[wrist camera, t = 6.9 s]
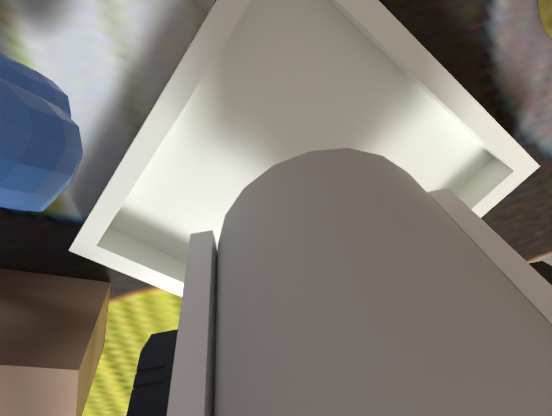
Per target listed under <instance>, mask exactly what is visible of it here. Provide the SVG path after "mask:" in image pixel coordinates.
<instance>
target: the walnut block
mask: <svg viewBox="0 0 552 416" xmlns="http://www.w3.org/2000/svg"><path fill="white" fill-rule="evenodd" d="M110 285H111V283H110V282H103V281H95V280H87V279H79V278H72V277H64V276H56V275H48V274H41V273H33V272H25V271H17V270H10V269H2V268H0V416H82V413H83V410H84V407H85V404H86V400H87V397H88V394H89V391H90V388H91V385H92V382H93V379H94V375H95V372H96V369H97V366H98V363H99V360H100V357H101V354H102V351H103V347H104V340H105V331H106V322H107V313H108V304H109V294H110Z"/></svg>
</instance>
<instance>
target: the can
mask: <svg viewBox="0 0 552 416" xmlns="http://www.w3.org/2000/svg"><path fill="white" fill-rule="evenodd" d="M214 416H552V326H551V325H550V324H549V322H548V321H547V320H546V319H545V318H544V317H543V316H542V315H541V314H540V313H539V312H538V311H537V310H536V309H535V308H534V306H533V305H532V304H531V303H530V302H529V301H528V300H527V299H526V298H525V297H524V296H523V295H522V294H521V293H520V291H519V290H518V289H517V288H516V287H515V286H514V285H513V284H512V283H511V282H510V281H509V280H508V279H507V278H506V276H505V275H504V274H503V273H502V272H501V271H500V270H499V269H498V268H497V267H496V266H495V265H494V264H493V263H492V262H491V260H490V259H489V258H488V257H487V256H486V255H485V254H484V253H483V252H482V251H481V250H480V249H479V248H478V247H477V245H476V244H475V243H474V242H473V241H472V240H471V239H470V238H469V237H468V236H467V235H466V234H465V233H464V232H463V231H462V229H461V228H460V227H459V226H458V225H457V224H456V223H455V222H454V221H453V220H452V219H451V218H450V217H449V216H448V214H447V213H446V212H445V211H444V210H443V209H442V208H441V207H440V206H439V205H438V204H437V203H436V202H435V201H434V200H433V198H432V197H431V196H430V195H429V194H428V193H427V192H426V191H425V190H424V189H423V188H422V187H421V186H420V185H419V183H418V182H417V181H416V180H415V179H414V178H413V177H412V176H411V175H410V174H409V173H408V172H406V171H405V170H403V169H402V168H400V167H399V166H397V165H396V164H394V163H393V162H391V161H390V160H388V159H387V158H385V157H384V156H381V155H377V154H373V153H368V152H364V151H360V150H356V149H351V148H341V149H329V150H316V151H309V152H306V153H304V154H301V155H299V156H296V157H293V158H291V159H288V160H286V161H283V162H280V163H278V164H275V165H273V166H272V167H271V168H269V169H268V170H267V171H265V172H264V173H263V174H261V175H260V176H259V177H257V178H256V179H255V180H254V181H252V182H251V183H250V184H248V185H247V186H246V187H244V189H243V190H242V192H241V193H240V194H239V196H238V197H237V199H236V200H235V202H234V203H233V205H232V206H231V208H230V209H229V210H228V212H227V213H226V215H225V218H224V222H223V226H222V230H221V234H220V238H219V242H218V264H217V304H216V344H215V384H214Z"/></svg>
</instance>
